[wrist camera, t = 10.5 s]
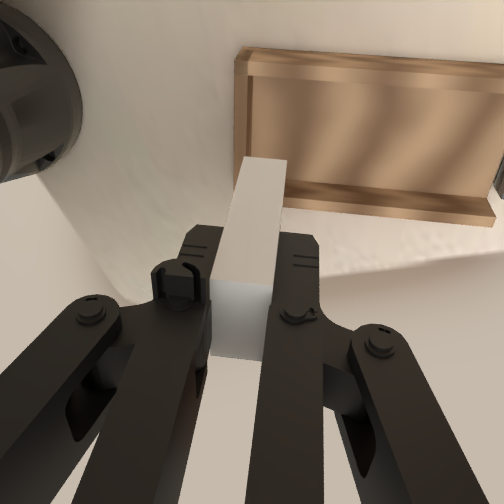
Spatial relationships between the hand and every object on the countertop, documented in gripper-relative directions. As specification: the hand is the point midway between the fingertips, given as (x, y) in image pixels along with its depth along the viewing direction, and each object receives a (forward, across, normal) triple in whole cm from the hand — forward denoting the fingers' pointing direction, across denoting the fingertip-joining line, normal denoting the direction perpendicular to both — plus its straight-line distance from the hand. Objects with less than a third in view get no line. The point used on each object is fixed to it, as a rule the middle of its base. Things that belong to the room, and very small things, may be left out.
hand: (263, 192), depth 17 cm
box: (+24, +7, -7) cm, 26 cm away
